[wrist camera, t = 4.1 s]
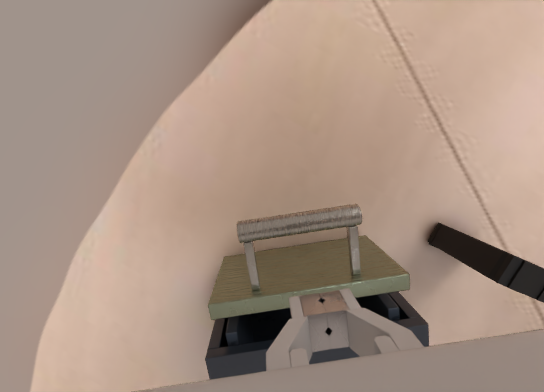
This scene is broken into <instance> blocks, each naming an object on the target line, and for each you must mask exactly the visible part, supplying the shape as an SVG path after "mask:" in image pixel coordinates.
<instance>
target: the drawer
mask: <svg viewBox="0 0 544 392" xmlns="http://www.w3.org/2000/svg"><path fill="white" fill-rule="evenodd" d="M361 223H362V213H361V210H360V207H359V206H358V204H351V205H345V206H338V207H331V208H325V209H318V210H312V211H305V212H298V213H292V214H285V215H278V216H272V217H265V218H258V219H252V220H245V221H239V222H237V233H238V238H239V241H240V243H243V242H244V249H245V254H239V255H232V256H226V257H224V259H223V262H222V265H221V268H220V271H219V274H218V276H217V279H216V282H215V285H214V288H213V291H212V294H211V297H210V300H209V303H208V308H209V313H210V317H211V320H215V319H222V318H228V317H229V319H228V324H227V330H226V338H227V343H228V346H234V345H240V344H247V343H253V342H260V341H266V340H273V339H276V337H277V336H278V335H279V333H280V332H281V330H282V329H283V327H284V326H285V324H286V323H287V322H288V320H289V319H291V312H290V305H289V297H293V296H301V295H308V294H316V293H324V292H330V291H336V290H341V289H346V288H349V289H350V290H351V292H352V294H353V295H354V297H355V299H356V300H357V302H358V303H359V305H360V307H361V308H366V309H368V310H370V311H372V312H374V313H376V314H378V315H380V316H382V317H384V318H386V319H388V320H390V321H396V320H400V318H399V307H398V306H397V304H396V303H395V302H394V301H393V300H392V298H391V297H390V296H389V295H388V294H387V293H391V292H398V291H404V290H409V289H410V277H409V273H408V272H407V271H405V270H404V269H403V268H402V267H401V266H400V265H399V264H397V263H396V262H395V261H394V260H393V259H392V258H391V257H389V256H388V255H387V254H386V253H385V252H384V251H383V250H381V249H380V248H379V247H378V246H377V245H376V244H375V243H374V242H372V241H371V240H370V239H369V238H368V237H367V236H365V235H364V236H358V227H357V226H356V225H360V224H361ZM342 227H346V228H347V238H344V239H338V240H331V241H325V242H318V243H311V244H305V245H298V246H292V247H285V248H278V249H272V250H265V251H259V252H255V250H254V244H253V241H256V240H262V239H269V238H276V237H282V236H289V235H295V234H302V233H309V232H315V231H322V230H329V229H335V228H342Z"/></svg>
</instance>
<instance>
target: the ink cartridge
mask: <svg viewBox="0 0 544 392" xmlns="http://www.w3.org/2000/svg"><path fill="white" fill-rule="evenodd" d="M428 242H429V245H432V246H434V247H436V248H439V249H440V250H442V251H444V252H445V253H447V254H449V255H451V256H452V257H454V258H456V259H457V260H459V261H461V262H462V263H464V264H466V265H468V266H469V267H471V268H473V269H474V270H476V271H478V272H479V273H481V274H483V275H485V276H486V277H488V278H490V279H492V280H493V281H495V282H497V283H499V284H501V285H504V286H506V287H508V288H510V289H512V290H515V291H517V292H520V293H522V294H525V295H527V296H529V297H532V298H534V299H537V300H539V301H541V302H544V268H542V267H539V266H537V265H535V264H532V263H530V262H528V261H526V260H523V259H521V258H519V257H516V256H514V255H512V254H510V253H507V252H505V251H503V250H501V249H498V248H496V247H494V246H491V245H489V244H487V243H485V242H482V241H480V240H478V239H475V238H473V237H471V236H468V235H466V234H464V233H462V232H459V231H457V230H455V229H452V228H450V227H448V226H445V225H443V224H441V223H438V225H437V226H436V228H435V230H434V232H433V233H432V235H431V237H430V239H429V240H428Z"/></svg>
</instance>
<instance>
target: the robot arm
mask: <svg viewBox="0 0 544 392" xmlns="http://www.w3.org/2000/svg"><path fill="white" fill-rule="evenodd" d="M289 305H290V312H291V319H289V320H288V322H287V323H286V324H285V326H284V327H283V329H282V330H281V332H280V333H279V335H278V336H277V337H276V339H275V340H274V342H273V343H272V345H271V346H270V347H269V349H268V350H267V352H266V371H264V372H257V373H251V374H244V375H238V376H231V377H225V378H218V379H211V380H205V381H198V382H192V383H185V384H179V385H172V386H166V387H159V388H152V389H146V390H139V391H133V392H544V329H539V330H533V331H526V332H520V333H513V334H506V335H500V336H493V337H487V338H480V339H473V340H467V341H460V342H454V343H447V344H441V345H434V346H428V347H424V346H423V345H422V344H421V342H420V341H419V340H418V339H417V337H416V336H415V335H414V334H413V332H412V331H411V330H409V329H407V328H405V327H403V326H401V325H399V324H397V323H394V322H392V321H390V320H388V319H386V318H384V317H382V316H380V315H378V314H376V313H374V312H372V311H370V310H368V309H366V308H361V307H360V305H359V303H358V302H357V300H356V299H355V297H354V295H353V294H352V292H351V290H350V289H349V288H346V289H341V290H336V291H330V292H324V293H316V294H308V295H301V296H293V297H289ZM344 347H350V348H351V349H352V350H353V351H354V352H355V353H357V354H358V355H359V356H360V357H356V358H349V359H343V360H336V361H329V362H323V363H316V364H310V365H309V361H310V359H311V356H312V352H318V351H323V350H329V349H336V348H344Z"/></svg>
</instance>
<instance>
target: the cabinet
mask: <svg viewBox="0 0 544 392" xmlns="http://www.w3.org/2000/svg"><path fill="white" fill-rule="evenodd" d="M387 294H388V295H389V296H390V297H391V298H392V300H393V301H394V302H395V303H396V304H397V306H398V307H399V318H400V320H396V321H392V322H394V323H397V324H399V325H401V326H403V327H405V328H407V329H409V330H411V331H412V332H413V334H414V335H415V336H416V337H417V339H418V340H419V341H420V342H421V344H422V345H423V346H424V347H428V346H429V330H428V323H427V322H426V321H425V320H424V319H423V318H422V317H421V316H420V315H419V314H418V313H417V311H416V310H415V309H414V308H413V307H412V306H411V305H410V304H409V303H408V302H407V301H406V300H405V298H404V297H403V296H402V295H401V294H400V293H399V292H391V293H387ZM228 319H229V317H228V318H222V319H216V320H215V324H214V328H213V331H212V335H211V339H210V342H209V346H208V350H207V354H206V358H205V361H206V365H207V369H208V373H209V378H210V380H211V379H218V378H225V377H231V376H238V375H244V374H251V373H257V372H264V371H266V352H267V350H268V349H269V347H270V346H271V345H272V343H273V342H274V340H275V339H273V340H266V341H260V342H253V343H247V344H240V345H234V346H228V343H227V338H226V330H227V324H228ZM356 357H360V356H359V355H358V354H357V353H355V352H354V351H353V350H352V349H351V348H350V347H344V348H336V349H329V350H323V351H318V352H312V356H311V359H310V361H309V365H310V364H316V363H323V362H329V361H336V360H343V359H349V358H356Z"/></svg>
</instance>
